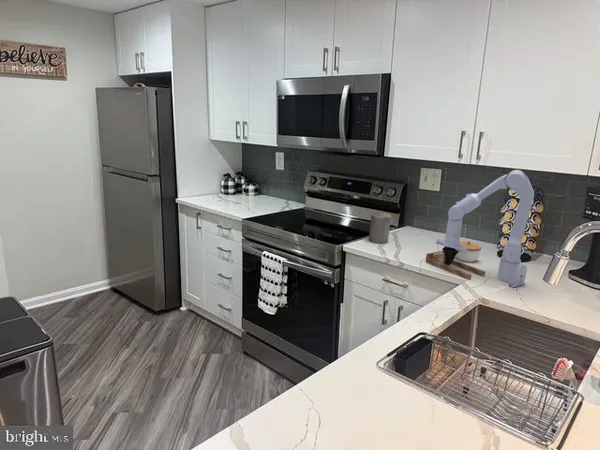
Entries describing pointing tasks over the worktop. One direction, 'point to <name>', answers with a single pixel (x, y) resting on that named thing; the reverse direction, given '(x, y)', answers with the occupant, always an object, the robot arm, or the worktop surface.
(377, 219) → the pillar candle
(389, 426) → the worktop surface
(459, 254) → the lidded jar
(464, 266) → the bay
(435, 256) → the tan wooden block
